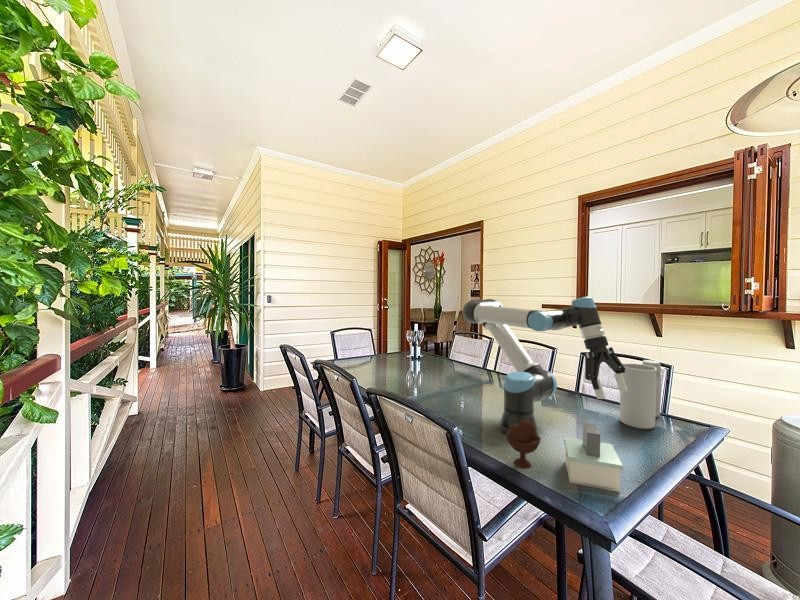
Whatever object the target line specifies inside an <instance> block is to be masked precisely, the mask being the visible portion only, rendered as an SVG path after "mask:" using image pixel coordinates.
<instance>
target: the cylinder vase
mask: <svg viewBox="0 0 800 600" xmlns="http://www.w3.org/2000/svg"><path fill="white" fill-rule="evenodd" d="M622 364H623V366H624V367H625V373H622V374H623V377H624V380H625V383H626V386H627V389H628V391H623V392H620V391H619V393H620V394H619V395H620V396H619V397H620V398H619V420H620V422H621V423H623V424H624V425H625V426H628V427H632V428H636V429H639V430H641V429H642V430H650V429H654V428H655V427H656V417H655V409H656V370H657V369H656V368H655V367H652V366H648V365H642V363H640V364H639V363H622Z"/></svg>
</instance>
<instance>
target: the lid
mask: <svg viewBox="0 0 800 600" xmlns="http://www.w3.org/2000/svg"><path fill="white" fill-rule="evenodd" d="M563 442H564V446H565V447H564V448H565V449H566V452H567V456H568V460H569V461H574V462H580V463H586V464H592V465H598V466H604V467H610V468H616V469H621V470H622V471H623V470H624V464H623V462H622V461H621V459H620V456H619V455H618V453H617V452H616V450H615V448H614V445H613V444H612V443H605V442H601V433H600V431H599V429H598V427H597V425H596V423H589V422H582V439H578V438H571V437H565V436H564V437H563Z"/></svg>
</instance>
